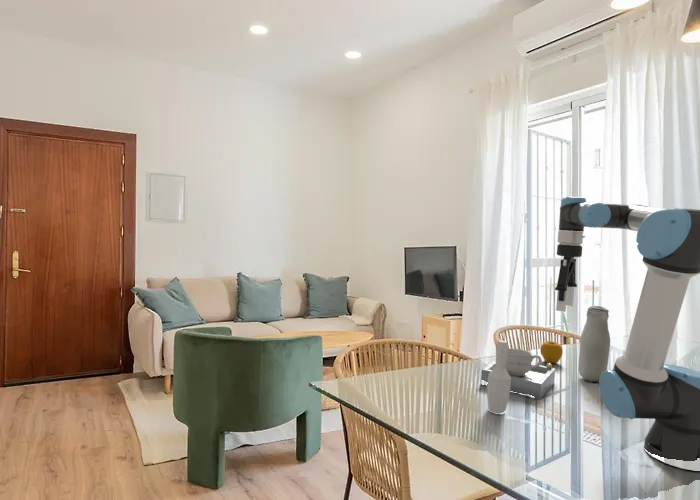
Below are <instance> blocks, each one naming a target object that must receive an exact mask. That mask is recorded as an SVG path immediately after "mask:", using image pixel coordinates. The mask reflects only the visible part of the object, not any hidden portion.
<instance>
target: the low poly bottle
mask: <svg viewBox="0 0 700 500" xmlns="http://www.w3.org/2000/svg"><path fill="white" fill-rule="evenodd" d="M508 348H509V345H508V342H507V341H506V340H503V339H502V340H501V339H500V340H498V341H497V343H496V346H495V360H496V364H495V368H494V369H493V370H492V371H491V372H490V373H489V374H488V384H487V386H486V387H487V389H486V390H487V392H486V393H487V407H488V408H487V409H489V410H490V411H492V412H495V413H502V412H504V411H505V412H506V409H507V405H508V402H509V398H510V393H511V392H510V386H511V377H510V375H509V374H508V372H507V370H506V359H507V354H508ZM489 410H488V411H489Z"/></svg>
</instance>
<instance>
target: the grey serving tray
mask: <svg viewBox="0 0 700 500" xmlns="http://www.w3.org/2000/svg"><path fill="white" fill-rule="evenodd" d="M495 364H496V359H494V360H493V361H492V362H490V363H489V364H487V365H486V366H485V367H483V368H482V369H481V373H480V374H481V375H480V376H481V377H480V381H481V380H484V381H486V382H488V374H489V373H490V372H491V371H492V370H493V369H494V368H495ZM536 364H537V363H532V362H531V366H533V365H536ZM552 366H553V364H551V363H548V362H546V366H545V365H541V364H540V365H539V366H538V367H536V368H533V369H532V370H531V371H529V372H528V373H526V374H525V375H523V376H516V375H510V374H509V375H510V377H511V386H510V391H513V392H517V393H522V394H529V395H532V396H534V397H535V398H537V399H536V400H538V401H540V400H541V399H542V398H544V396H545V394H547V392H548V391H549V390H550V389H551V388H552V386H553V385H554V384H555V378H556V377H555V376H556V368H555V367H552Z"/></svg>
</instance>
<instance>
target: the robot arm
mask: <svg viewBox="0 0 700 500" xmlns="http://www.w3.org/2000/svg"><path fill="white" fill-rule="evenodd" d="M560 201H561V202H560V206H559V221H558V223H559V224H558V234H557V243H558V244H557V246H556V247H557V248H556V255H557V256H559V257H563V259H560V266H559V272H558V277H557V284H556V286H555V289H554V291H557V293H556V294H557V295H556V297H557V298H556V307H555V308H556V309H555V311H558V312H566V308H567V307H573V305H574V295H575V288H577V287H578V284H577V281H576V274H577V273H576V265H577V264H576V263H577V262H576V261H577V258H581V257H582V255H583V246H582V245H581V244H583V242H584V241H583V240H584V238H586V235H585V234H584V232H585V231H584V230H585V228H602V229H603V228H605V229H619V230H621V229H623V230H630V231H635V232H636V241H635V242H636V243H637V245H636V247H637V251H638V253H639V254H640V255H641V256H642V263H643V264H644V265H645V267H646V268H647V271H646V274H645V278H644V282H643V285H642V288H641V292H640V296H639V300H638V303H637V307H636V310H635V314H634V318H633V322H632V325H631V328H630V333H629V336H628V340H627V344H626V346H625V351H624V355H621V356H619V357H617V358H616V359H615V362H614V366H613V368H612V369H609V368H607V370H606V371H604V372H602V374H601V376H600V380H599V381H598V386H599V387H598V388H599V393H600V396H601V399H602V402H603V404H604V406H605V408H606V409H607V410H608V411H609V413H610V414H612V415H613V416H615V417H617V418H620V419H621V418H623V419H630V420H633V419H645V420H647V419H650V420H653V419H654V423H652V425H651V427H650V429H649V431H648V433H647V435H646V436H645V438H644V443H643V449H644V448H645V449H646V450H647V451H648V452H650V453H651V454H655V455H658V456H660V457H664V458H667V459H676V460H683V461H695V460H697V458H700V371H697V370H695V369H691V368H688V367H684V366H680V365H676V364H671V363H666V359H667V356H668V353H669V349H670V345H671V343H672V340H673V337H674V336H673V335H674V333H675V329H676V326H677V323H678V321H679V320H678V319H679V318H680V313H681V310H682V307H683V303H684V300H685V297H686V294H687V290H688V286H689V283H690V281H691V279H692V278H693V277H696V276H698V275H699V274H700V209H692V208H681V207H672V208H656V207H655V208H654V207H649V206H647V205H642V204H624V203H623V204H619V203H608V202H607V203H605V202H604V203H603V202H601V201H600V202H599V201H590V202H587V199H586V198H585V197H584V196H583V197H582V196H564V197H562V199H561V200H560ZM645 449H644V450H645Z"/></svg>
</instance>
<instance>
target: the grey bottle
mask: <svg viewBox="0 0 700 500" xmlns="http://www.w3.org/2000/svg"><path fill="white" fill-rule="evenodd" d="M609 311H610V310H609V309H607V308H606V307H603V306H600V305H591V306H589V307H588V308H587V311H586V321H585V324H584V326H583V329H582V331H581V335H580V342H579V355H578V356H579V357H578V374H579V376H580V377H581V378H583V379H585V380H587V381H589V382H598V383H599V380H600V376H601V374H602V372H604V371H606V370H608V366H609V359H610V358H609V357H610V349H611V337H610V335H611V334H610V331H609V323H608V322H609V321H608V320H609V317H610V315H609Z"/></svg>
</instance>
